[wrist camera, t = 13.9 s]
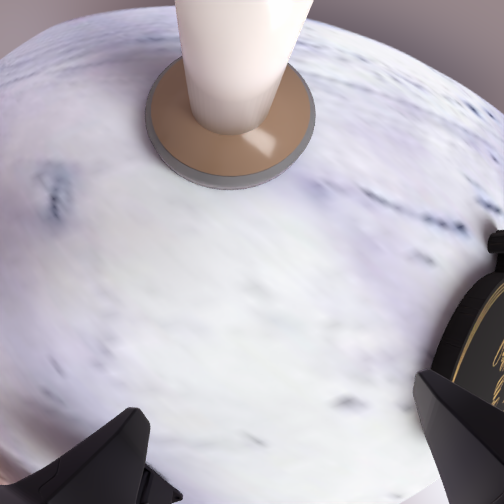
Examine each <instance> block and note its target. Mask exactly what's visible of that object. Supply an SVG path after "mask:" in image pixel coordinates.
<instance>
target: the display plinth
mask: <svg viewBox="0 0 504 504" xmlns="http://www.w3.org/2000/svg"><path fill="white" fill-rule="evenodd" d="M315 115H316V114H315V105H314V101H313V97H312V94H311V92H310V89H309V87H308V85H307V84H306V82H305V80H304V79H303V78H302V76H301V75H300V74H299V73H298V72H297V71H296V70H295V69H294V68H293V67H292V66H291V65H290V64H289V63H287V66H286V68H285V71H284V74H283V76H282V79H281V81H280V84H279V86H278V89H277V92H276V94H275V97H274V99H273V102H272V105H271V107H270V110H269V113H268V115H267V117H266V118H265V120H264V121H263V122H262V123H261V124H260V125H259V126H258V127H257V128H255V129H254V130H252V131H249V132H247V133H244V134H240V135H221V134H217V133H214V132H211V131H209V130H207V129H206V128H204V127H203V126H201V125H200V124H199V123H198V122H197V120H196V119H195V117H194V116H193V114H192V111H191V106H190V100H189V94H188V88H187V82H186V76H185V69H184V63H183V56H181V57H180V58H178V59H177V60H175V61H174V62H173V63H172V64H170V65H169V66H168V67H167V68H166V69H165V70H164V71H163V72H162V73H161V74H160V75H159V77H158V78H157V80H156V81H155V83H154V84H153V86H152V88H151V90H150V92H149V95H148V98H147V102H146V108H145V122H146V128H147V132H148V135H149V138H150V140H151V142H152V144H153V146H154V147H155V149H156V151H157V153H158V154H159V156H160V157H161V158H162V160H163V161H164V162H165V163H166V164H167V165H168V166H169V167H170V169H172V170H173V171H174V172H175V173H177V174H178V175H179V176H181V177H183V178H184V179H186V180H188V181H190V182H192V183H195V184H197V185H200V186H204V187H208V188H212V189H219V190H239V189H247V188H251V187H255V186H258V185H261V184H264V183H267V182H269V181H270V180H272V179H274V178H276V177H278V176H279V175H281V174H282V173H284V172H285V171H286V170H287V169H288V168H289V167H290V166H291V165H292V164H293V163H294V162H295V161H296V160H297V158H298V157H299V156H300V155H301V154H302V152H303V151H304V150H305V148H306V146H307V145H308V143H309V141H310V139H311V136H312V134H313V130H314V126H315Z"/></svg>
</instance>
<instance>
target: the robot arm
mask: <svg viewBox="0 0 504 504" xmlns="http://www.w3.org/2000/svg"><path fill="white" fill-rule="evenodd" d="M413 396H414V399H415V403H416V406H417V410H418V413H419V417H420V420H421V424H422V428H423V431H424V434H425V437H426V440H427V442H428V445H429V447H430V450H431V453H432V455H433V458H434V460H435V463H436V466H437V468H438V471H439V474H440V477H441V480H442V482H443V485H444V488H445V491H446V494H447V498H448V500H449V504H504V411H502V410H500V409H498V408H497V407H495V406H493V405H491V404H490V403H488V402H486V401H484V400H483V399H481V398H479V397H477V396H476V395H474V394H472V393H470V392H469V391H467V390H465V389H464V388H462V387H460V386H458V385H457V384H455V383H453V382H451V381H450V380H448V379H446V378H445V377H443V376H441V375H439V374H438V373H436V372H434V371H433V370H431V369H424V370H421V371H418V372H417V373H416V376H415V382H414V387H413ZM149 434H150V423H149V421H148V420H147V418H146V417H145V415H144V414H143V412H142V411H141V410H140V409H139V408H134V407H129V408H127V409H125V410H124V411H123V412H121V413H120V414H119V415H117V416H116V417H115V418H113V419H112V420H111V421H109V422H108V423H107V424H105V425H104V426H103V427H101V428H100V429H99V430H97V431H96V432H95V433H93V434H92V435H91V436H89V437H88V438H86V439H85V440H84V441H82V442H81V443H79V444H78V445H77V446H75V447H74V448H72V449H71V450H69V451H68V452H67V453H65V454H64V455H62V456H61V457H60V458H58V459H56V460H55V461H54V462H52V463H51V464H49V465H47V466H46V467H44V468H43V469H41V470H39V471H37V472H35V473H34V474H32V475H30V476H28V477H26V478H24V479H22V480H20V481H18V482H16V483H14V484H10V485H0V504H171V503H174V502H178V501H181V500H182V499H183V495H182V494H181V493H180V492H179V491H177V490H176V489H175V488H173V487H172V486H171V485H170V484H168V483H167V482H166V481H165V480H163V479H162V478H161V477H160V476H159V475H157V474H156V473H155V472H154V471H153V470H152V469H151V468H149V467H148V466H147V465H146V464H145V461H146V455H147V447H148V441H149Z"/></svg>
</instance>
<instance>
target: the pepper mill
mask: <svg viewBox="0 0 504 504" xmlns="http://www.w3.org/2000/svg"><path fill="white" fill-rule="evenodd" d="M312 3H313V0H175V6H176V14H177V21H178V29H179V36H180V43H181V50H182V56H183V63H184V69H185V76H186V82H187V88H188V94H189V100H190V106H191V111H192V114H193V116H194V117H195V119H196V120H197V122H198V123H199V124H200V125H201V126H203V127H204V128H206V129H207V130H209V131H211V132H214V133H217V134H221V135H240V134H244V133H247V132H249V131H252V130H254V129H255V128H257V127H258V126H259V125H260V124H261V123H262V122H263V121H264V120H265V118H266V117H267V115H268V113H269V110H270V107H271V105H272V102H273V99H274V97H275V94H276V92H277V89H278V86H279V84H280V81H281V79H282V76H283V74H284V71H285V68H286V66H287V63H288V61H289V58H290V56H291V53H292V51H293V48H294V46H295V43H296V41H297V39H298V36H299V34H300V31H301V29H302V26H303V24H304V22H305V19H306V17H307V14H308V12H309V10H310V7H311V5H312Z"/></svg>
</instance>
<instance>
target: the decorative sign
mask: <svg viewBox="0 0 504 504" xmlns="http://www.w3.org/2000/svg"><path fill="white" fill-rule="evenodd" d="M488 252H489V253H498V257H497V265H496V269H495V272H493V273H490V274H488V275H486V276H484V277H483V278H481V279H480V280H479V281H478V282H476V283H475V284H474V285H473V287H472V288H471V289H470V290H469V291H468V292H467V294H466V295H465V296H464V298H463V299H462V301H461V302H460V304H459V306H458V307H457V309H456V310H455V312H454V314H453V316H452V318H451V320H450V321H449V324H448V326H447V328H446V330H445V332H444V334H443V336H442V339H441V341H440V343H439V346H438V348H437V351H436V354H435V357H434V360H433V363H432V366H431V370H433V371H434V372H436V373H438V374H439V375H441V376H443V377H445V378H446V379H448V380H450V381H451V382H453V383H455V384H457V385H458V386H460V387H462V388H464V389H465V390H467V391H469V392H470V393H472V394H474V395H476V396H477V397H479V398H481V399H483V400H484V401H486V402H488V403H490V404H491V405H493V406H495V407H497V408H498V409H500V410H502V411H504V230H497V231H496V233H492V234H491V235H490V237H489V240H488Z"/></svg>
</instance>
